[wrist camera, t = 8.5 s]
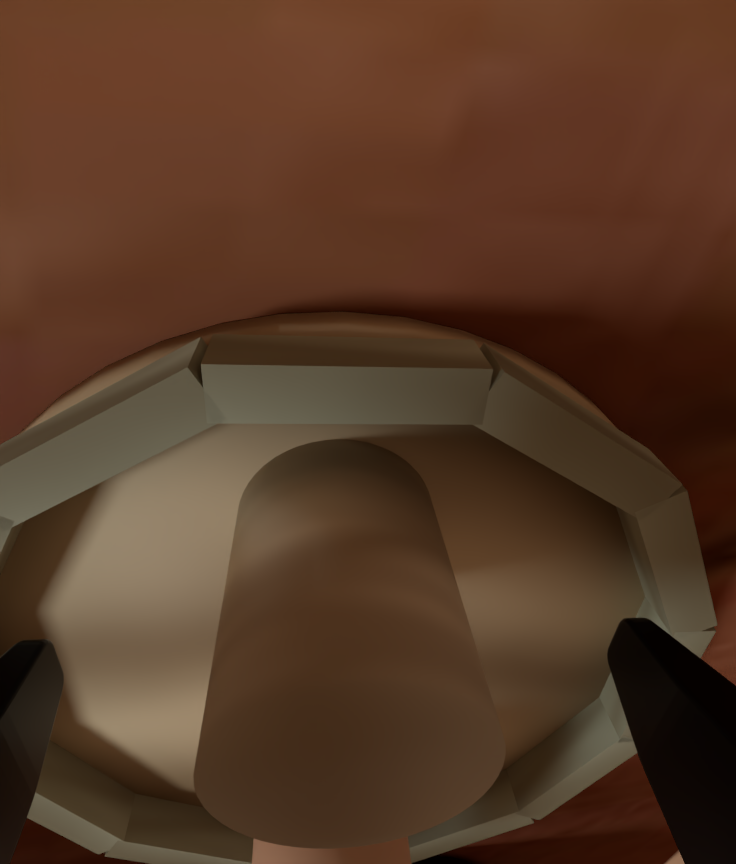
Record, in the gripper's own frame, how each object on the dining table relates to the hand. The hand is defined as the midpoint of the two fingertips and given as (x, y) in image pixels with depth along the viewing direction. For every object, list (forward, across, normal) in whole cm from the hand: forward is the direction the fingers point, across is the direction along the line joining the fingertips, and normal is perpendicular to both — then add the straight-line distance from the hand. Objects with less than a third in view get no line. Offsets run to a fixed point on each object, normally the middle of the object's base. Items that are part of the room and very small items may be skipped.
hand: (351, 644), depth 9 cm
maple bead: (+3, 0, 0) cm, 3 cm away
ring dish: (+4, 0, +5) cm, 6 cm away
